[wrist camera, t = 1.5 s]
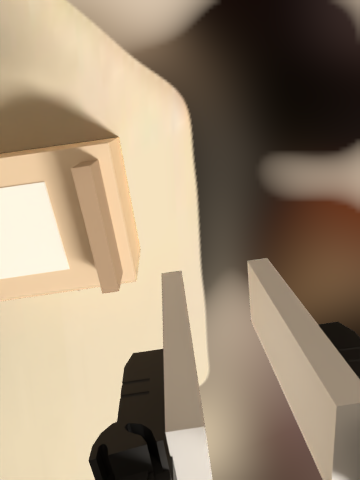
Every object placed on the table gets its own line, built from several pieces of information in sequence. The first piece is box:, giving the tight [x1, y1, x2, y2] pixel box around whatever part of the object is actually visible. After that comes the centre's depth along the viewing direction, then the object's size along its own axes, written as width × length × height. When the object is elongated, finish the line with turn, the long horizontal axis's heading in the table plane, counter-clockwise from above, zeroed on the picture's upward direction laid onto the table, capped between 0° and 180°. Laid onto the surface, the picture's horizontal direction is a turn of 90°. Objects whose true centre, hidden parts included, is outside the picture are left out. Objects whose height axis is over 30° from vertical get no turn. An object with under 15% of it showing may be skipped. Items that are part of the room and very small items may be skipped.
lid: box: [0, 143, 137, 301], centre depth 23 cm, size 14×11×4 cm
